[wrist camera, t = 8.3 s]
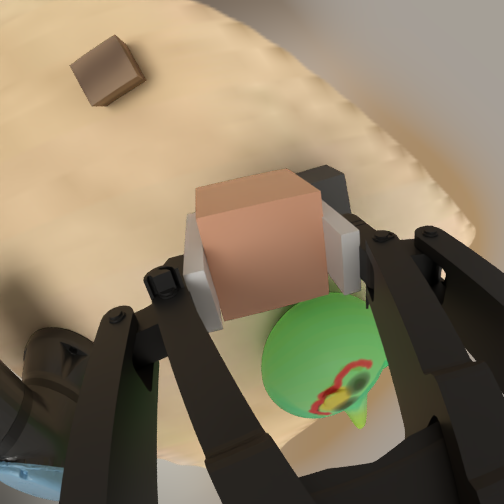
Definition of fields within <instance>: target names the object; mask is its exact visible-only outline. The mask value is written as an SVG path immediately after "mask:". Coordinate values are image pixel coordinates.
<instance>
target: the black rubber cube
mask: <svg viewBox="0 0 504 504" xmlns="http://www.w3.org/2000/svg"><path fill="white" fill-rule="evenodd" d="M296 175H298V176H299V177H301V178H302V179H304V180H305V181H307V182H308V183H310V184H311V185H313V186H314V187H315V188H317V189H318V190H320V191H321V199H322V200H323V201H324V202H325V203H327V204H328V205H329V206H330V207H332V208H333V209H334V210H335V211H336V212H338V213H339V214H340V215H341V214H345V213H350V214H351V209H350V203H349V197H348V192H347V186H346V181H345V176H344V173H342V172H340V171H338V170H336V169H334V168H332V167H330V166H328V165H324V166H320V167H317V168H313V169H310V170H306V171H303V172H300V173H296Z"/></svg>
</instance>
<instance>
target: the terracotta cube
mask: <svg viewBox="0 0 504 504" xmlns="http://www.w3.org/2000/svg"><path fill="white" fill-rule="evenodd" d="M322 217H323V209H322V199H321V191H320V190H318V189H317V188H315V187H314V186H313V185H311V184H310V183H308V182H307V181H305V180H304V179H302V178H301V177H299V176H298V175H296V174H295V173H293V172H292V171H290V170H289V169H287V168H286V169H281V170H276V171H271V172H266V173H261V174H256V175H251V176H247V177H242V178H237V179H233V180H228V181H224V182H220V183H215V184H211V185H207V186H202V187H198V188H196V222H197V225H198V229H199V233H200V237H201V241H202V244H203V248H204V252H205V255H206V259H207V263H208V266H209V270H210V274H211V277H212V281H213V284H214V287H215V290H216V294H217V297H218V300H219V305H220V309H221V312H222V315H223V319H224V321H228V320H232V319H236V318H240V317H244V316H249V315H253V314H257V313H261V312H265V311H269V310H272V309H276V308H280V307H284V306H288V305H292V304H295V303H299V302H303V301H306V300H310V299H314V298H317V297H321V296H324V295H328V294H329V285H328V272H327V261H326V250H325V240H324V231H323V222H322Z"/></svg>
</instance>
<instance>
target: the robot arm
mask: <svg viewBox="0 0 504 504" xmlns="http://www.w3.org/2000/svg"><path fill="white" fill-rule="evenodd" d="M322 209H323V217H322V222H323V231H324V240H325V250H326V261H327V272H328V274H329V275H330V277H331V278H332V279H333V281H334V282H335V283H336V285H337V286H338V288H339V289H340V290H341V292H342V293H343V294H344V296H345V295H348V294H352V293H355V292H358V291H361V279H362V280H363V281H364V282H365V284H366V309H368V308H369V304H370V307H371V310H372V313H373V316H374V320H375V323H376V326H377V329H378V332H379V335H380V338H381V342H382V345H383V348H384V352H385V355H386V358H387V362H388V365H389V369H390V372H391V376H392V380H393V383H394V387H395V390H396V394H397V398H398V402H399V406H400V410H401V414H402V419H403V423H404V427H405V440H403V441H402V442H401V443H400V444H398V445H397V446H396V447H395V448H393V449H392V450H391V451H389V452H388V453H387V454H385V455H384V456H383V457H381V458H380V459H378V460H377V461H375V462H373V463H368V464H362V465H355V466H348V467H339V468H330V469H326V470H322V471H319V472H316V473H313V474H310V475H306V476H302V477H299V478H298V476H297V475H296V474H295V472H294V471H293V469H292V468H291V466H290V465H289V463H288V462H287V460H286V459H285V457H284V456H283V454H282V453H281V451H280V449H279V448H278V446H277V445H276V443H275V442H274V440H273V439H272V437H271V436H270V435H269V434H268V433H266V432H265V431H264V429H263V428H262V426H261V425H260V423H259V421H258V420H257V418H256V417H255V415H254V413H253V412H252V410H251V408H250V406H249V405H248V403H247V401H246V400H245V398H244V396H243V395H242V393H241V391H240V389H239V388H238V386H237V384H236V382H235V381H234V379H233V377H232V375H231V374H230V372H229V370H228V368H227V366H226V365H225V363H224V361H223V359H222V357H221V356H220V354H219V352H218V350H217V348H216V346H215V345H214V343H213V341H212V339H211V337H210V335H209V332H213V331H217V330H221V329H223V326H222V319H221V312H220V305H219V300H218V297H217V294H216V290H215V287H214V284H213V281H212V277H211V274H210V270H209V266H208V263H207V259H206V255H205V252H204V248H203V244H202V241H201V237H200V233H199V229H198V225H197V222H196V212H194V213H191V214H187V220H186V233H185V248H184V255H180V256H176V257H172V258H169V259H168V260H167V261H166V262H165V264H164V265H163V266H159V267H157V268H154V269H152V270H151V271H150V272H148V273H147V274H146V275H145V277H144V280H143V281H144V283H145V286H146V288H147V291H148V293H149V295H150V298H151V300H152V304H151V305H150V306H148V307H146V308H144V309H142V310H140V311H138V312H135V313H134V311H133V309H132V308H131V307H130V306H119V307H115V308H113V309H112V310H109V311H108V312H107V313H106V314H105V315H104V316H103V318H102V320H101V322H100V325H99V328H98V331H97V334H96V338H95V341H94V344H93V343H92V342H91V341H89V340H88V339H86V338H85V337H83V336H81V335H79V334H77V333H74V332H72V331H69V330H65V329H61V328H44V329H41V330H39V331H37V332H35V333H34V334H33V335H32V336H31V338H30V339H29V341H28V343H27V345H26V347H25V350H24V358H23V359H24V366H23V375H22V381H21V380H20V379H19V378H18V377H17V376H16V375H15V374H14V373H13V372H12V371H11V370H10V369H9V368H8V367H7V366H6V365H5V364H4V363H3V362H2V361H1V360H0V481H2V482H3V483H5V484H6V485H8V486H10V487H12V488H15V489H17V490H19V491H21V492H24V493H27V494H30V495H33V496H36V497H40V498H44V499H48V500H54V501H59V504H158V494H157V402H158V378H159V360H161V359H163V358H165V357H167V356H168V357H169V360H170V363H171V366H172V369H173V372H174V375H175V378H176V381H177V384H178V387H179V390H180V393H181V395H182V398H183V401H184V404H185V406H186V409H187V412H188V414H189V417H190V420H191V422H192V425H193V427H194V430H195V432H196V435H197V437H198V440H199V442H200V445H201V447H202V449H203V452H204V454H205V458H206V459H205V465H206V468H207V470H208V473H209V475H210V477H211V480H212V482H213V484H214V486H215V489H216V491H217V493H218V495H219V497H220V499H221V502H222V504H504V397H503V395H502V393H503V394H504V273H502V272H501V271H500V270H499V269H497V268H496V267H495V266H493V265H492V264H491V263H489V262H488V261H487V260H485V259H484V258H482V257H481V256H480V255H478V254H477V253H475V252H474V251H473V250H471V249H470V248H468V247H467V246H465V245H464V244H463V243H461V242H460V241H458V240H457V239H455V238H454V237H452V236H451V235H449V234H448V233H446V232H445V231H443V230H442V229H439V228H437V227H433V226H423V227H419V228H417V229H416V230H415V239H407V240H399V238H398V237H397V235H396V234H394V233H392V232H390V231H384V230H378V231H376V230H375V229H373V228H372V227H371V226H369V225H368V224H366V223H365V222H364V221H363V220H362V219H360V218H359V217H358V216H356V215H353V214H350V213H345V214H341V215H340V214H339V213H338V212H336V211H335V210H334V209H333V208H332V207H330V206H329V205H328V204H327V203H325V202H324V201H323V200H322ZM442 269H443V270H444V271H445V273H446V277H445V280H444V279H443V278H441V270H442ZM465 348H466V349H467V351H468V352H469V353H470V354H471V355H472V356H473V357H474V359H475V360H476V362H473V361H472V360H471V359H470V358H469V355H468V353H467V351H466V349H465Z"/></svg>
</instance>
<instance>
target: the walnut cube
mask: <svg viewBox="0 0 504 504" xmlns="http://www.w3.org/2000/svg"><path fill="white" fill-rule="evenodd" d="M70 67H71V69H72V71H73V73H74V75H75V77H76V78H77V80H78V82H79V84H80V86H81V88H82V90H83V91H84V93H85V95H86V97H87V99H88V101H89V102H90V104H91V106H107V105H109V104H110V103H112V102H113V101H115V100H116V99H118V98H119V97H121V96H122V95H124V94H126V93H127V92H129V91H130V90H132V89H134V88H135V87H137V86H138V85H140V84H142V83H143V82H145V81H146V79H145V77H144V76H143V74H142V72H141V70H140V68H139V67H138V65H137V63H136V61H135V59H134V58H133V56H132V54H131V52H130V50H129V49H128V47H127V45H126V44H125V43H124V42H123V41H122V40H120V39H119V38H118V37H117V36H116V35H113V36H112V37H110V38H109V39H107V40H106V41H104V42H102V43H101V44H99V45H98V46H96V47H95V48H93V49H92V50H90V51H89V52H88V53H86V54H85V55H83V56H82V57H81V58H79V59H78V60H76V61H75V62H74V63H72V64H71V65H70Z"/></svg>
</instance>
